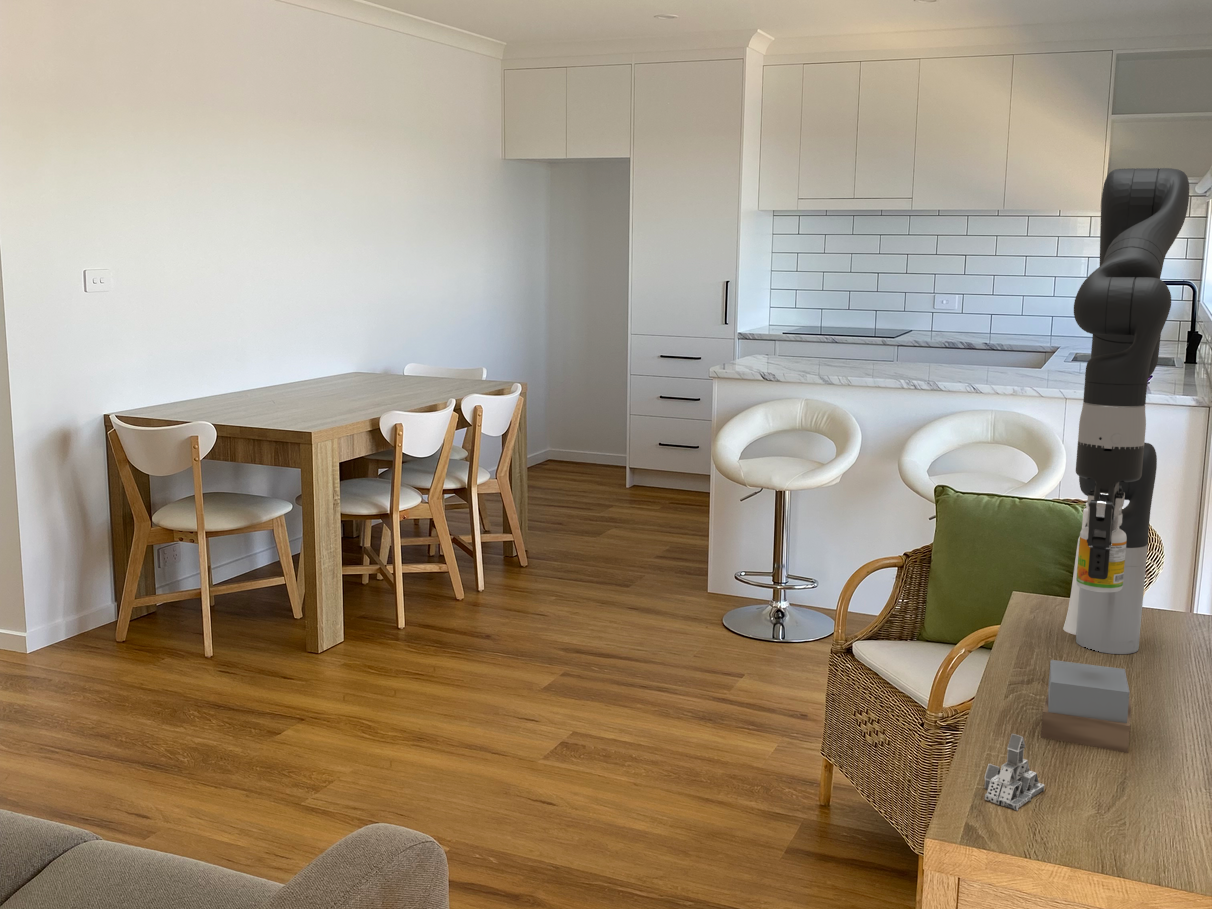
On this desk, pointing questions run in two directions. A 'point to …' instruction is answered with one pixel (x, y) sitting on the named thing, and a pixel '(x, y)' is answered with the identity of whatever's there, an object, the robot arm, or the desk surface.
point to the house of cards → (1012, 778)
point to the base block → (1086, 730)
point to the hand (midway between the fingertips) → (1100, 572)
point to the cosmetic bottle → (1074, 590)
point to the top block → (1088, 691)
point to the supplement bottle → (1115, 562)
